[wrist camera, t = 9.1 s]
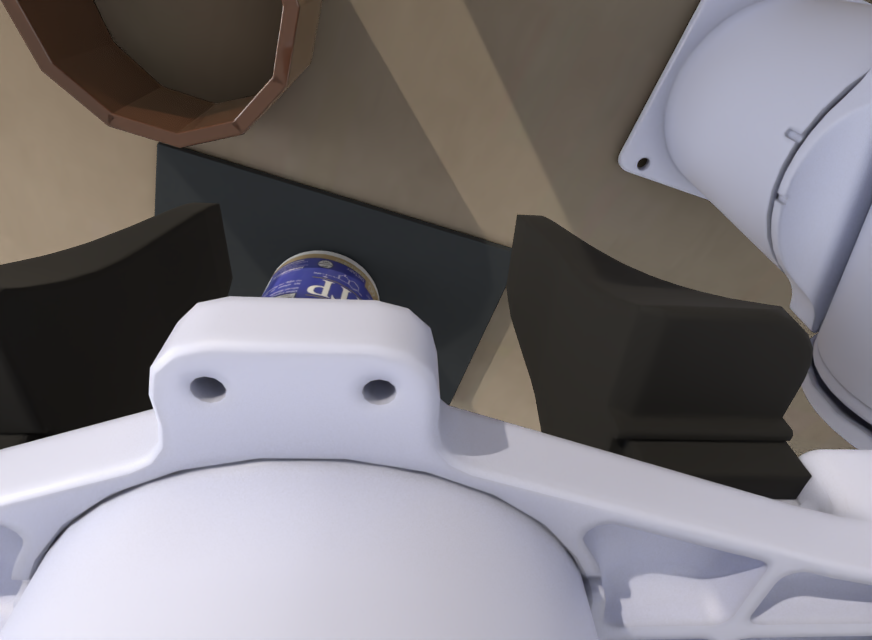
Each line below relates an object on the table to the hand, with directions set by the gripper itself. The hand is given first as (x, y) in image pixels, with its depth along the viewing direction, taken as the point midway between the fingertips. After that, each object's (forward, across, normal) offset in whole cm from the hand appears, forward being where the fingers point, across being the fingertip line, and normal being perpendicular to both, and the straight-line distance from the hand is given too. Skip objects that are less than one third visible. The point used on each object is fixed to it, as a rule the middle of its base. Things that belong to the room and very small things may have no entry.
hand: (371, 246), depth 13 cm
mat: (+11, +3, +8) cm, 14 cm away
